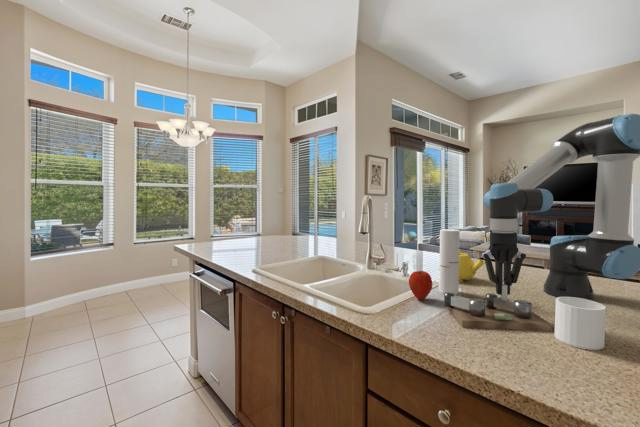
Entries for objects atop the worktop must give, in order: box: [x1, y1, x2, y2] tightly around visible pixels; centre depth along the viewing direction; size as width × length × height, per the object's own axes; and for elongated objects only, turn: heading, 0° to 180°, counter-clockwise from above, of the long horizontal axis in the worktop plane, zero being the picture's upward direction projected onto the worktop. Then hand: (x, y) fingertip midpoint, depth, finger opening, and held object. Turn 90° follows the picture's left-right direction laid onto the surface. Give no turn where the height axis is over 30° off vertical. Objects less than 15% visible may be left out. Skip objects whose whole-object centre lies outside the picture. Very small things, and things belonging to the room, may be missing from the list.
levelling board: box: [447, 304, 552, 332], centre depth 95 cm, size 24×14×4 cm, turn 83°
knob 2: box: [485, 293, 533, 318], centre depth 95 cm, size 13×4×4 cm, turn 37°
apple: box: [408, 270, 433, 301], centre depth 114 cm, size 9×8×11 cm
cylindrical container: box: [438, 228, 461, 296], centre depth 122 cm, size 7×7×25 cm
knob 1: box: [443, 292, 486, 317], centre depth 97 cm, size 13×4×4 cm, turn 39°
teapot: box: [438, 249, 485, 284], centre depth 139 cm, size 20×16×14 cm
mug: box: [554, 297, 607, 351], centre depth 81 cm, size 13×10×10 cm
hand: (502, 304), depth 99 cm, fingers closed
